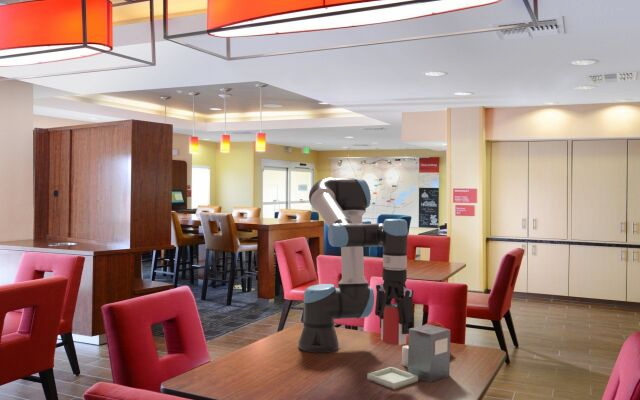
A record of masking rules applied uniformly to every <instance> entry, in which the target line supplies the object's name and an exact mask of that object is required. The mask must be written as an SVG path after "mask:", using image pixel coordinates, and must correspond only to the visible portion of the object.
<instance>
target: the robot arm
mask: <svg viewBox="0 0 640 400" xmlns="http://www.w3.org/2000/svg"><path fill="white" fill-rule="evenodd" d="M371 198H372V196H371V190H370V186H369V185H368V183H367V181H366V180H364V178H363V179H362V178H356V177H351V178H350V177H326V178H322V179H320V180H318V181H316V182H315V183H314V184H313V185H312V186H311V188H310V190H309V194H308V201H309V203H310V205H311V207H312V208H313V210H315V211H317V213H318V214H320V216H321V218H322V219H323V221H324V222H325V224H326V225H327V227H328V230H327V239H328V244H329V245H330V246H331V247H333V248H335V247H337V248H340V255H341V279H340V281H338V283H337V284H338V287H336V286H335V285H334V284H333V283H320V284H319V283H318V284H315V285H310V286H308V287H307V288H305V290H304V293H303V294H304V295H303V301H302V302H303V327H302V330H301V333H300V338H299V340H298V348H299V350H301V351H304V352H307V353H315V354H316V353H317V354H318V353H320V354H323V353H324V354H325V353H330V352H331V353H332V352H335V351H337V350H339V348H340V347H339V343H340V342H339V339H338V336H337V333H336V329H335V320H345V319H346V320H347V319H357V320H358V319H361V318H368V317H369V316H370V315H371V314H372V312H373V310H374V315H375V316H378V317H379V328H380V340H382V341H383V311H384V308H385V304H390V303H392V301H393V299H394V301H395V302H394V303H397V307H398V311H399V316H400V320H401V322H400V323H399V345H398V346H401V345H405V344H407V335H408V334H409V323H413V322H414V321H415V320H414V301H413V296H414V293H415V292H414V290H413V289H409V288H407V286H406V281H407V278H408V277H407V276H408V273H407V271H408V270H407V269H406V268H407V267H408V234H409V230H408V222H407V220H406V219H400V218H385V219H384V221H383V222H375V223H363V216H364V215H365V213H366V210H367V208H369V207H370V205H371ZM364 247H367V248H368V247H369V248H370V247H382V267H383V269H382V280H383V283H381V284H377V285H375V288H376V296H375V293H374V292H375V291H374V289H373V287H371V286H369V282H368V280H367V279H365V266H364V265H365V264H364V260H365V259H364ZM375 297H376V299H375ZM374 305H375V307H374ZM374 308H375V309H374Z"/></svg>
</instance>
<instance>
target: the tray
mask: <svg viewBox="0 0 640 400" xmlns="http://www.w3.org/2000/svg"><path fill="white" fill-rule="evenodd" d="M366 375H367V377H366V378H367V380H368V381H370V382H373V383H376V384H379V385H382V386H384V387H387V388H389V389H392V390H397V389H399V388H402V387H405V386H408V385H411V384H414V383H417V382H418V381H419V378H418V376H417V375H414V374H411V373H408V371H406V370H402V369H400V368H397V367H393V366H388V367H386V368H383V369H378V370H376V371H372V372H368V373H366Z"/></svg>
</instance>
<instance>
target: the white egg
mask: <svg viewBox="0 0 640 400" xmlns="http://www.w3.org/2000/svg"><path fill="white" fill-rule="evenodd" d="M401 348H402V349H401V352H402V353H401V366H403V367H406V368H408V345H403V346H402V347H401Z"/></svg>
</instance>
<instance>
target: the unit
mask: <svg viewBox="0 0 640 400" xmlns="http://www.w3.org/2000/svg"><path fill="white" fill-rule="evenodd" d="M445 328H446V327H445ZM445 328H441V327H437V326H433V325H429V324H427V325H425V324H423V325H419V326H415V327H411V328H408V341H407V342H408V367H407V372H408V373H411V374H414V375H417V376H418V380H419V379H420V380H422V381H424V382H428V383H433V382H435V381H438V380H440V379H444V378H446V377H450V367H451V366H450V363H451V361H450V360H451V359H450V358H451V354H450V353H451V329H449V328H446V329H445Z"/></svg>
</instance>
